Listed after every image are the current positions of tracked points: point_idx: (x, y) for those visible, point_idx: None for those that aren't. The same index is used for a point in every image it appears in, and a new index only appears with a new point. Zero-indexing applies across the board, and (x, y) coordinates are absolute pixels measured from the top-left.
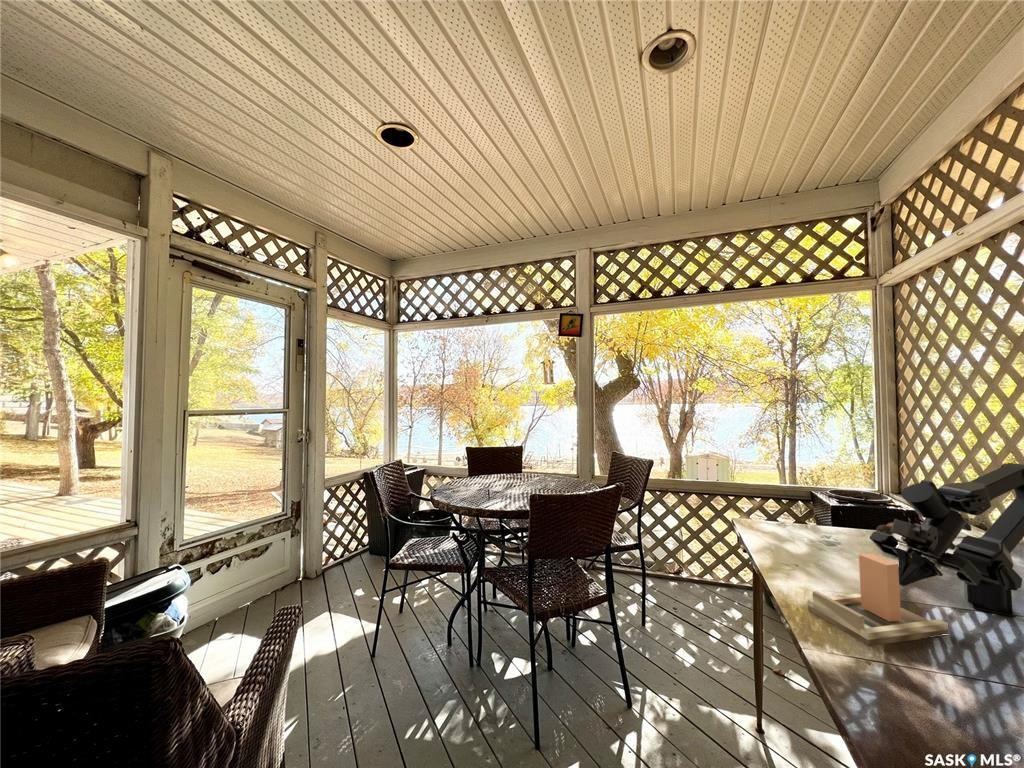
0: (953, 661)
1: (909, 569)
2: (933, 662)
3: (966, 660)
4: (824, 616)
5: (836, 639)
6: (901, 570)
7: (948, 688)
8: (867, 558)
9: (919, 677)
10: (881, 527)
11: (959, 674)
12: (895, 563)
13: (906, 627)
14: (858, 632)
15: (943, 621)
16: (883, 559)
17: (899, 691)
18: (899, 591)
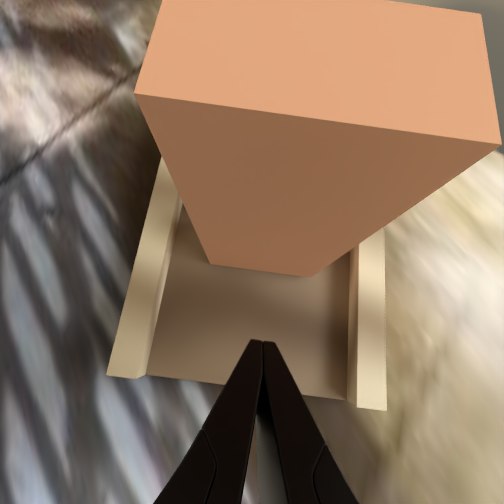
0: (59, 213)
1: (224, 451)
2: (83, 164)
3: (42, 251)
4: None
5: None
6: (286, 419)
7: (26, 93)
8: (377, 5)
9: (73, 81)
10: None
11: (30, 166)
12: (159, 85)
13: (156, 195)
14: None
15: (119, 373)
16: (298, 91)
17: (73, 13)
18: (194, 226)
